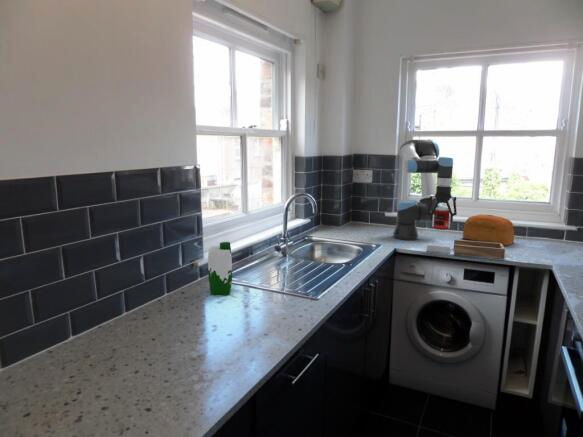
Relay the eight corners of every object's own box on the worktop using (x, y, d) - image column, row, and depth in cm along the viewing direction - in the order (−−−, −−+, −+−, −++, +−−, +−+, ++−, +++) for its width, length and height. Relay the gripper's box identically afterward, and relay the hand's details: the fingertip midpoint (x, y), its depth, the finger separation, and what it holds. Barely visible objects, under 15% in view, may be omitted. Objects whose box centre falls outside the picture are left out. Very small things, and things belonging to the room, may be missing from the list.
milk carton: (231, 296, 159) (230, 245, 155) (208, 296, 158) (206, 246, 154) (233, 288, 167) (231, 240, 164) (210, 288, 167) (208, 240, 163)
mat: (427, 245, 237) (427, 245, 237) (449, 247, 233) (449, 247, 233) (426, 251, 224) (426, 251, 224) (449, 253, 220) (450, 253, 220)
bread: (471, 235, 266) (473, 211, 263) (515, 242, 246) (518, 216, 243) (459, 239, 255) (461, 213, 252) (505, 247, 235) (508, 219, 233)
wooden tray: (453, 248, 232) (454, 239, 231) (501, 252, 224) (501, 243, 223) (453, 254, 220) (454, 245, 219) (504, 258, 211) (505, 249, 210)
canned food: (445, 226, 230) (447, 207, 228) (450, 229, 222) (451, 209, 220) (431, 226, 231) (433, 207, 228) (435, 229, 223) (436, 209, 221)
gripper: (423, 185, 222) (421, 227, 226) (464, 187, 215) (461, 229, 219) (424, 184, 229) (421, 224, 233) (464, 185, 222) (460, 227, 226)
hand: (440, 227), depth 226 cm, fingers closed on canned food, 8 cm apart
